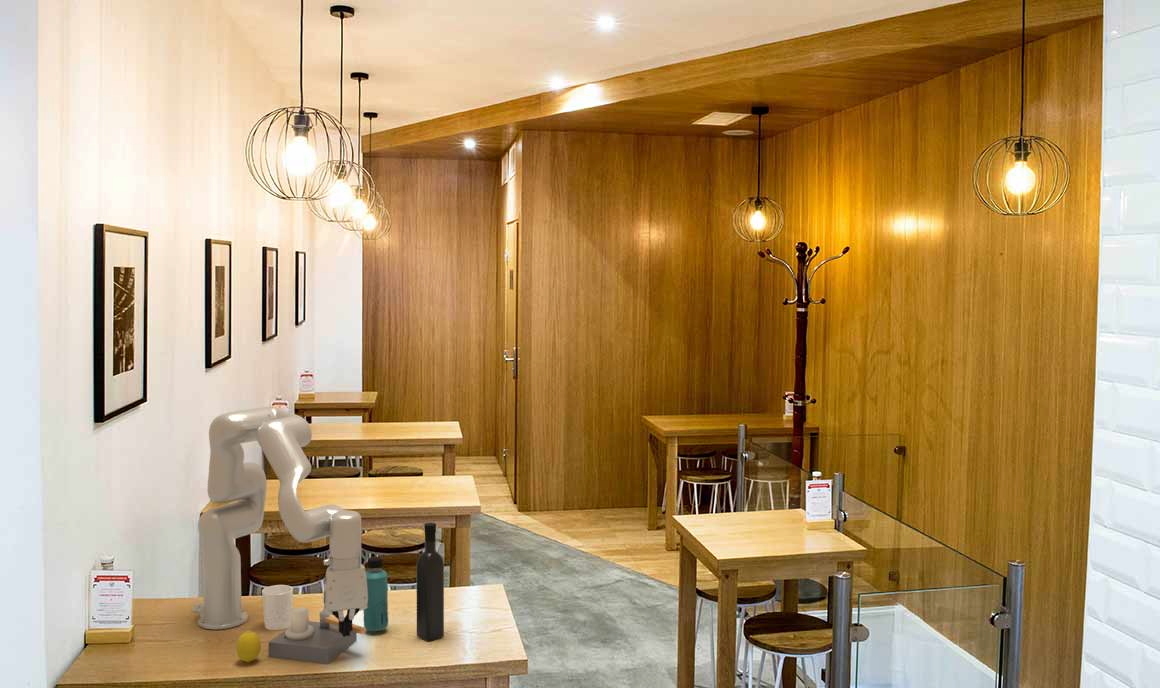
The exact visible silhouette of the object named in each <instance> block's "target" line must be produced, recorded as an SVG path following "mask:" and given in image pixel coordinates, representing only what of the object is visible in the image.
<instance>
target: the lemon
mask: <svg viewBox="0 0 1160 688" xmlns="http://www.w3.org/2000/svg"><path fill="white" fill-rule="evenodd" d="M261 646H262V644H261V640H260V637H259V635H258V634H257V633H256V632H253V631H251V630H247V631H246V632H243V633H242V634H241V635H240V636H239V637H238V640H237V643H236V653H237V657H238V658H239V659H240V660H241V661H243V662H246V664H250V663H252V662H253V661H254V660H256V659H257V658H258V656H259V655H260V653H261V648H262V647H261Z"/></svg>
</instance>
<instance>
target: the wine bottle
mask: <svg viewBox="0 0 1160 688" xmlns="http://www.w3.org/2000/svg"><path fill="white" fill-rule="evenodd" d="M423 528H424V551H423V552H422V553H421V554H420V555H419V556H418V558H417V561H416V636H417V638H419V639H422V640H424V641H425V642H431V641H434V640H436V639H440V638H442V637H444V634H445V563H444V558H443V557H442V555H441V554H440V552H438V551H436V547H437V546H436V544H437V543H436V536H437V535H436V533H437V524H436V523H435V522H425V523H424V527H423Z"/></svg>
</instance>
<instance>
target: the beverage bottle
mask: <svg viewBox="0 0 1160 688" xmlns="http://www.w3.org/2000/svg"><path fill="white" fill-rule="evenodd" d="M383 560H384V559H383V557H381V556H371V557H368V558H367V560H366V561H367V563H366V567H367V568H369V569H368V570H367V571H366V578H367V589H368V603H367V606H368V607H367V608H366V609H364V610H362V611H363V613H362V614H363V619H362V620H363V627H364V628H366V631H369V632H377V631H378V632H379V631H383V630H385V629H387V628H388V625H389V609H388V607H389V600H388V597H389V596H388V595H389V591H388V573H387V572H386V571H385V570H384V569H382V567H383V566H384V561H383Z"/></svg>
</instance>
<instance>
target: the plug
mask: <svg viewBox="0 0 1160 688" xmlns="http://www.w3.org/2000/svg"><path fill="white" fill-rule="evenodd" d="M309 621H310V620H309V607H306V606H298V607H297V606H296V607H292V609H291V610H290V626H289V627H288V628H285V629H284V631H285V637H286V638H287V639H289V640H305V639H307V638H310V637H312V636H313V634H314V628H313V626H311V625H309Z"/></svg>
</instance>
